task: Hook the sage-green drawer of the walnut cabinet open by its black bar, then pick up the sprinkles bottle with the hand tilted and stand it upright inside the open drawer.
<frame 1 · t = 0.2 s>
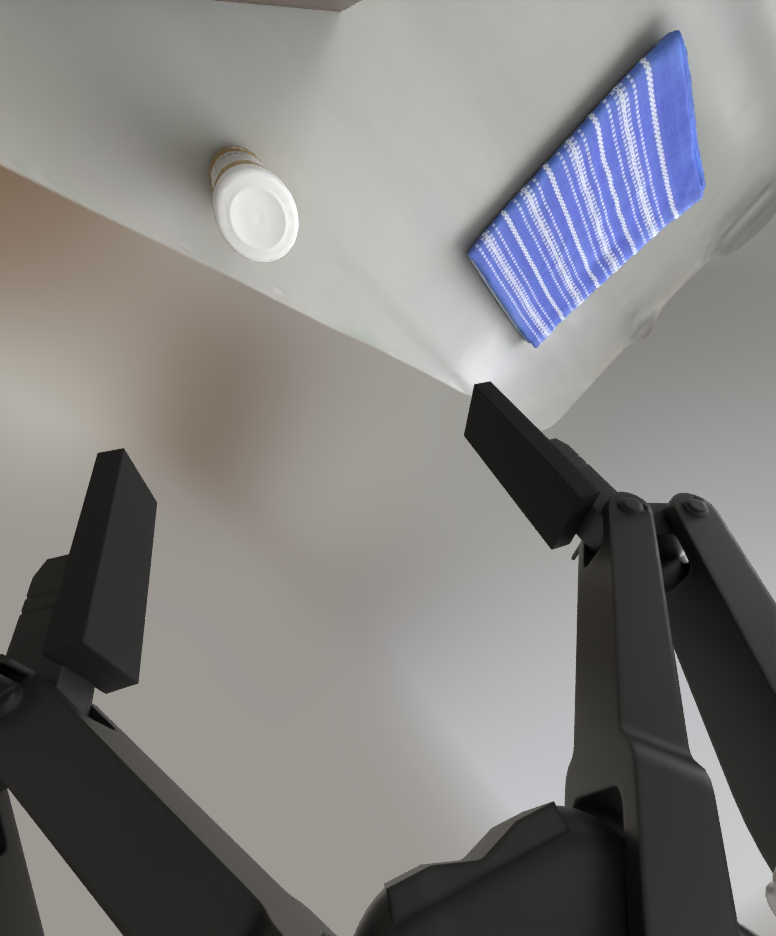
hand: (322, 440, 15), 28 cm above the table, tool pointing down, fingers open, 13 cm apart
dish towel: (580, 218, 42), on the table
sprinkles bottle: (240, 181, 30), on the table
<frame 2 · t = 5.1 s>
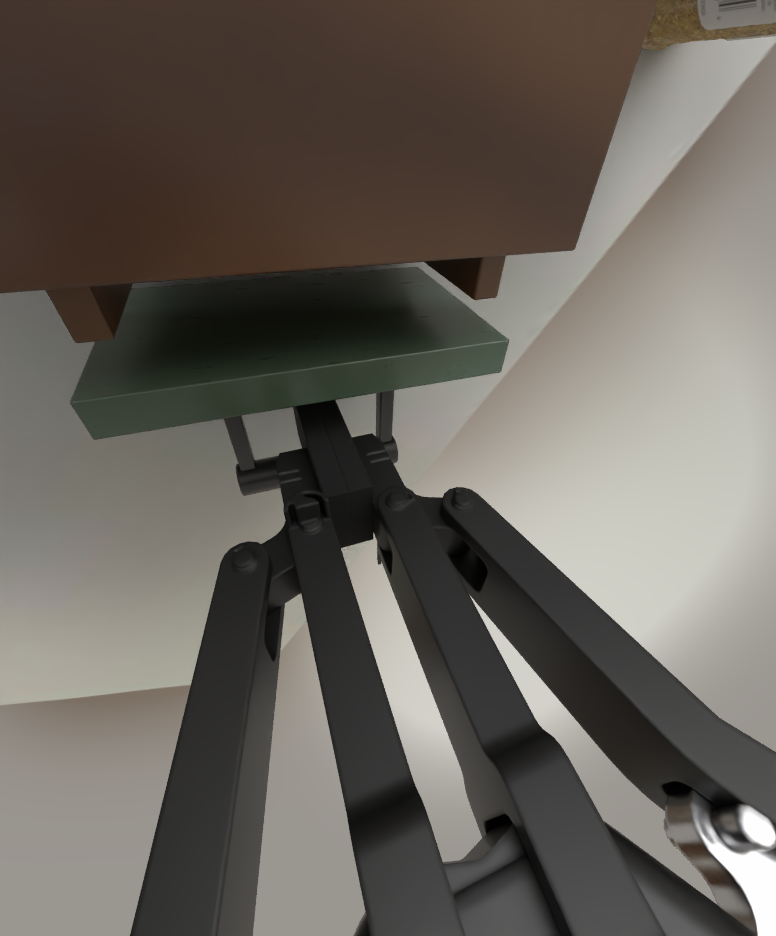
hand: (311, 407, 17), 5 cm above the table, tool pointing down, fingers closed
drawer: (284, 208, 11), point 5 cm above the table, slide at 2.8 cm
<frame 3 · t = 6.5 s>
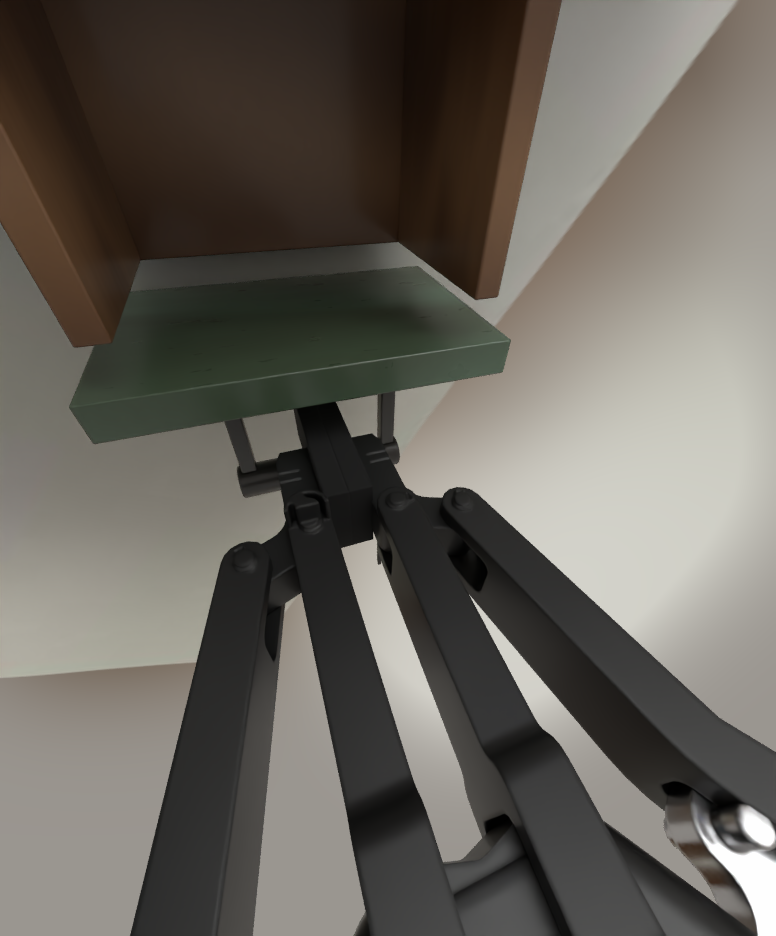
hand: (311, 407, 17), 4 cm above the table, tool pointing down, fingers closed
drawer: (283, 209, 11), point 5 cm above the table, slide at 8.9 cm, touching gripper
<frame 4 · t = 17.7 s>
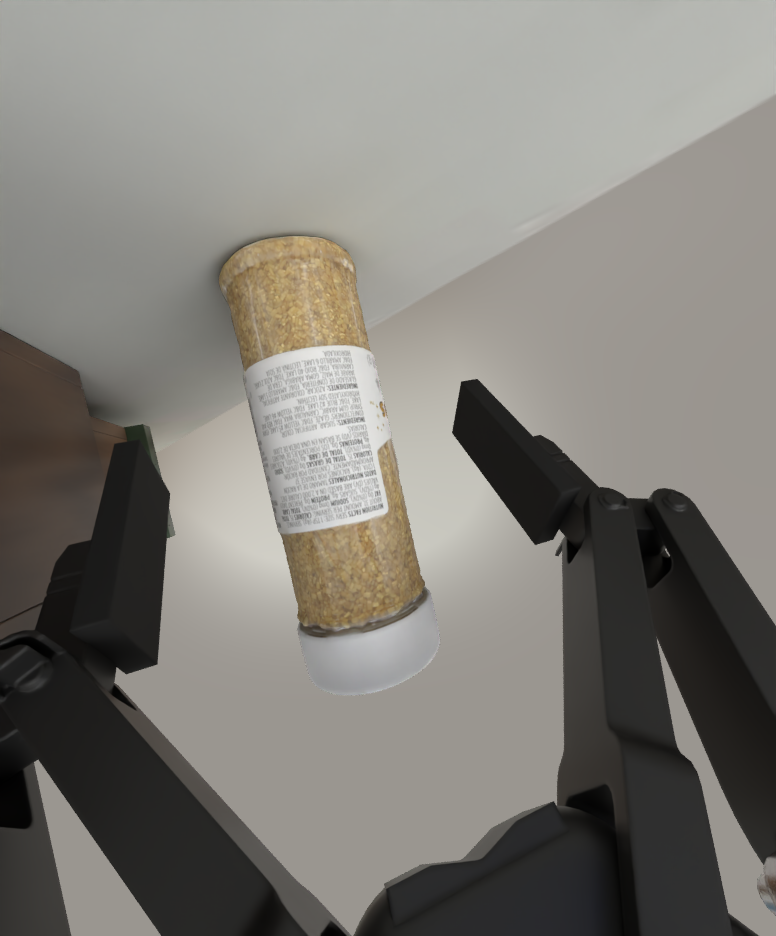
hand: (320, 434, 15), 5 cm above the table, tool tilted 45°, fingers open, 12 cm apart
sprinkles bottle: (285, 263, 13), on the table
drawer: (14, 506, 21), point 5 cm above the table, slide at 9.0 cm
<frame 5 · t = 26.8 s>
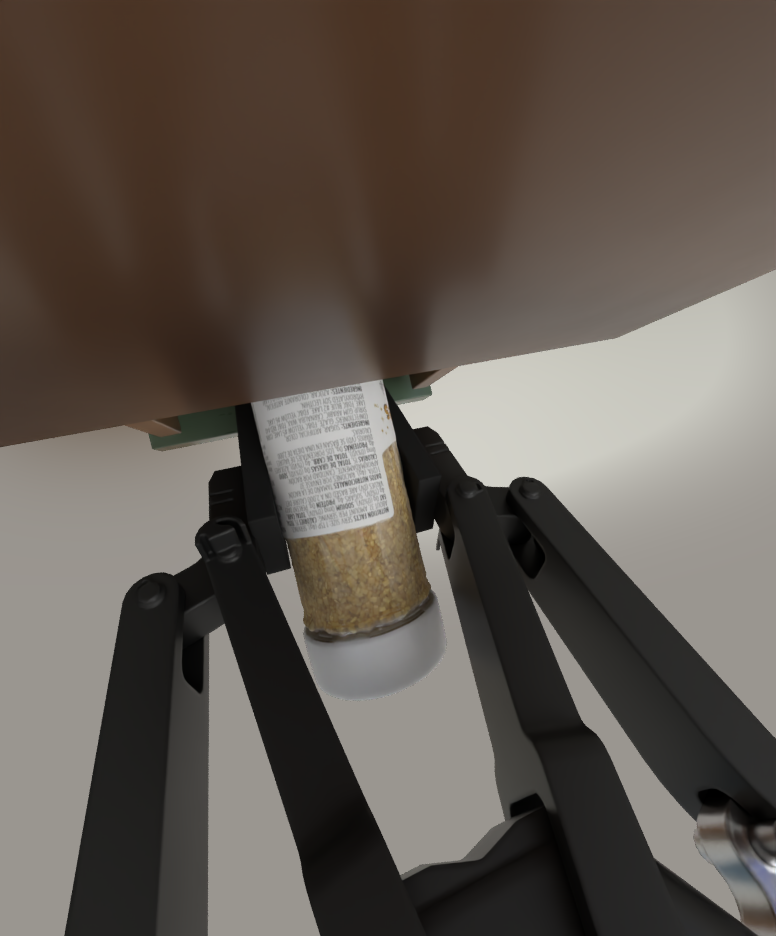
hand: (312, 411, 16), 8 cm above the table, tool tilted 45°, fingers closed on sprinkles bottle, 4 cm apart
sprinkles bottle: (287, 265, 13), point 4 cm above the table, touching gripper
drawer: (284, 301, 14), point 5 cm above the table, slide at 9.9 cm
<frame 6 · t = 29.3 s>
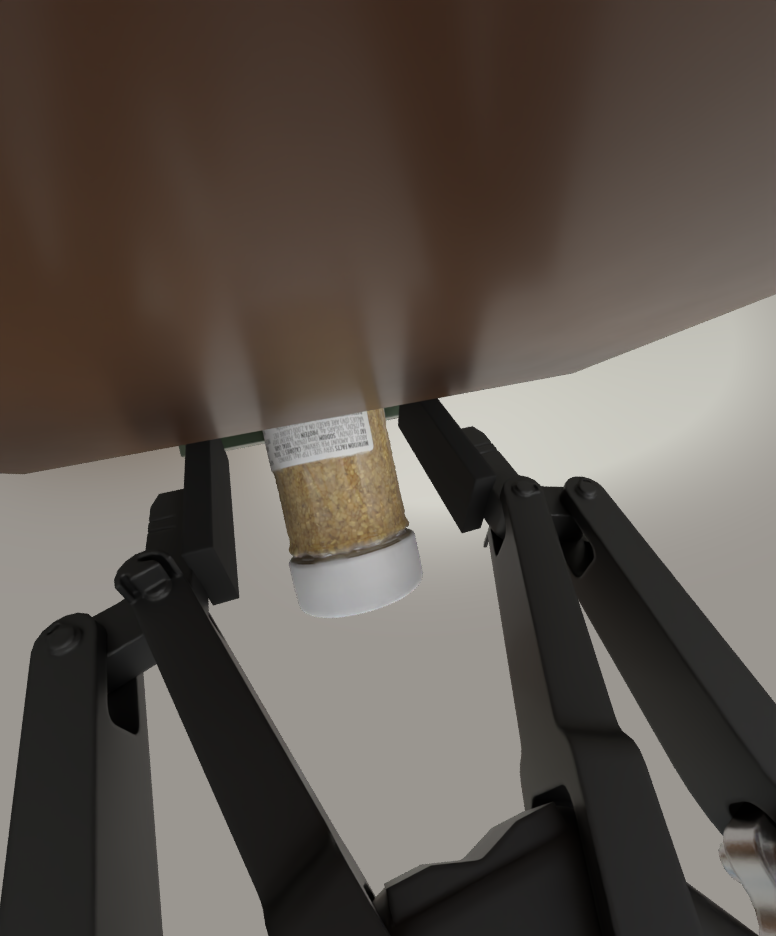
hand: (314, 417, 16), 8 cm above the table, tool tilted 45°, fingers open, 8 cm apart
sprinkles bottle: (280, 221, 14), point 2 cm above the table, touching drawer
drawer: (298, 330, 16), point 5 cm above the table, slide at 9.9 cm, touching gripper, sprinkles bottle
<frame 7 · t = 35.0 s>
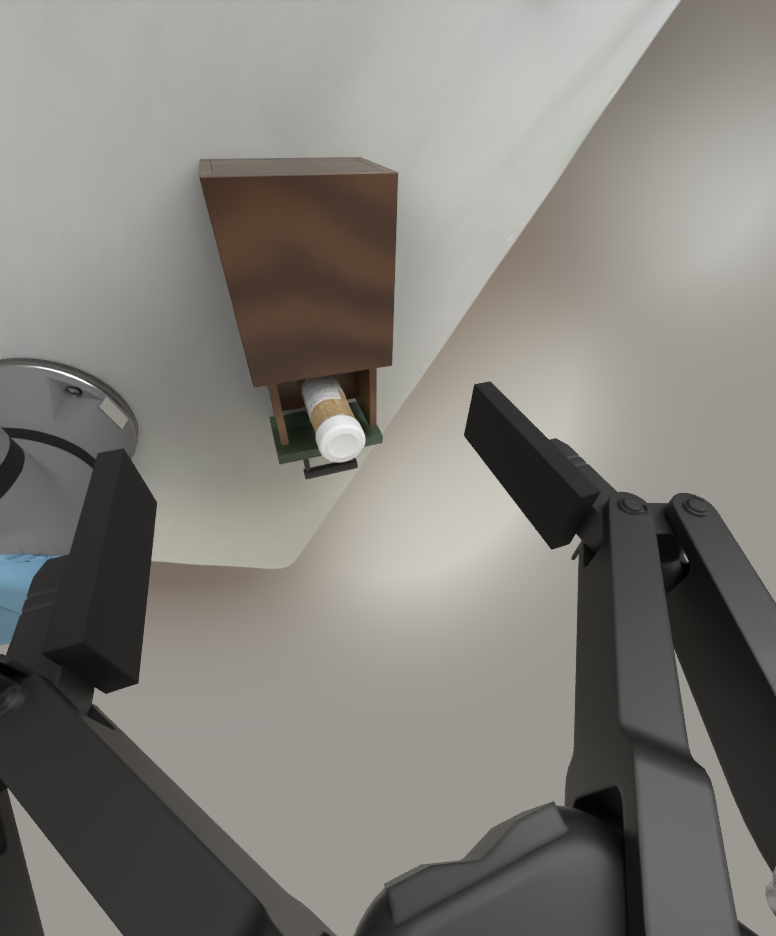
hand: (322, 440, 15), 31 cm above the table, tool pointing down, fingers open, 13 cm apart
sprinkles bottle: (314, 374, 45), point 2 cm above the table, touching drawer
cabinet: (297, 258, 38), on the table
drawer: (322, 405, 45), point 5 cm above the table, slide at 9.6 cm, touching sprinkles bottle
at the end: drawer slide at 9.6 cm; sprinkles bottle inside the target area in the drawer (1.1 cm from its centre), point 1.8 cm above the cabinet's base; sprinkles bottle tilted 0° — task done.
